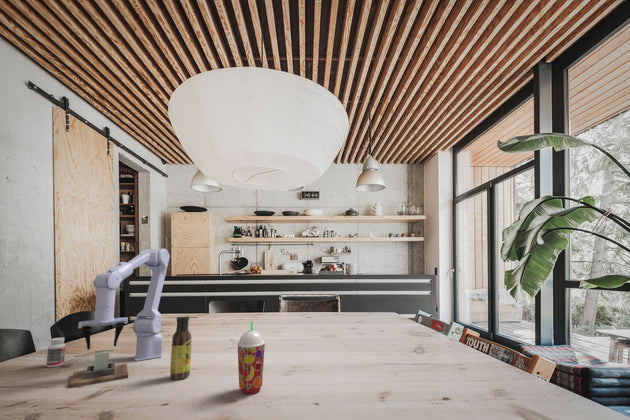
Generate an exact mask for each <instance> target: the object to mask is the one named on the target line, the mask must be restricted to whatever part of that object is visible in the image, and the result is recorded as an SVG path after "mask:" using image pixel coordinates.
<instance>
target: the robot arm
mask: <svg viewBox="0 0 630 420" xmlns="http://www.w3.org/2000/svg"><path fill="white" fill-rule="evenodd" d="M170 257H171V256H170V253H169V251H168V250H167V249H166V248H145V249H143V250H141V251H140V252H139V254H137V255H136V256H135V257H133V258H132V259H130V260H129V261H128V262H127V261H119V262H118V263H117V265H115V266H114V267H112V268H109V269H107V271H106V272H100V273H98V275H96V276H95V278H94V279H93V281H92V284H93V287H94V289H95V290H94V291H95V294H96V295H95V296H96V297H95V298H96V299H95V309H94V319H91V320H84V321H79V322H78V327H77V328H78V329H81V332H82V334H83V336H84V338H85V342H86V349H87V350H89V351H90V350H91V333H92V332H91V331H92V327H94V328H95V327H102V326H111V325H115V329H114V330H115V331H114V339H113V347H117V343H118V340H119V336H120V334H121V332H123V329H124V327H125V324H126V325H127V324H128V322H129V321H128V318H129V317H115V305H116V292H117V290H116V289H118V287H119V286H120V284H121V283H122V281H124V280H125V279H127V278H128V277H130V276H131V275H132V274H133V273H134V270H135V269H137V268H139V267H140V266H142V265H143V264H144V265H145V266H146V267H147V269H149V270H151V277H150V281H149V286H148V290H147V293H146V298H145V301H144V306H143V309H142V310H141V311H140V312H138V313H137V314H136V318H135V320H134V322H133V324H132V331H133V333H135V336H136V345H135V346H136V348H135V354H134V355H133V359H134V361H135V362H138V361H144V360H151V359H159V358H161V357H162V352H163V351H162V350H163V334H162V333H161V332H160V331H161V329H162V324H163V323H162V318H163V315H162V314H161V313H160V311H158V310H159V305H160V301H161V295H162V291H163V287H164V282H165V279H166V274H167V270H168V265H169V262H170V261H169V260H170Z"/></svg>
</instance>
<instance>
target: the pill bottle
mask: <svg viewBox="0 0 630 420" xmlns="http://www.w3.org/2000/svg"><path fill="white" fill-rule="evenodd" d="M50 341H51V342H50V345H49V346H48V348H47V355H46V367H47V368H56V367H60V366H63V365H64V364H65V360H66V359H65V358H66V357H65V356H66V348H67V345H66V344H65V343H64V342H65V337H55V338H52V339H51V340H50Z"/></svg>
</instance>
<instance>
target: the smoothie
mask: <svg viewBox="0 0 630 420" xmlns="http://www.w3.org/2000/svg"><path fill="white" fill-rule="evenodd" d="M253 323H254V321H253V320H251V321H250V330H248V331H246V332H244V333H243V334H242V335H241V336H240V339H239V340H238V342H237V343H236V344H237V361H238V363H237V364H238V365H237V366H238V387H239V389H240V392H241V393H242V394H245V395H253V394H257V393H259V392H260V391H261V387H262V386H263V379H264V378H263V375H264V361H265V348H266V347H265V346H266V341H265V340H264V338H263V336H262V334H261V333H260V332H259V331H257V330H253Z"/></svg>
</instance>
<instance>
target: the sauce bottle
mask: <svg viewBox="0 0 630 420" xmlns="http://www.w3.org/2000/svg"><path fill="white" fill-rule="evenodd" d="M189 321H190V315H187V314H185V315H184V314H183V315H182V314H181V315H177V316H176V330H175V332H174V334H173V335H172V340H171V351H170V355H171V356H170V370H169V371H170V375H169V378H170V379H171V380H183V379H186V378H188V377H189V376H190V373H191V356H192V334H191V332H190V331H189Z"/></svg>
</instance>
